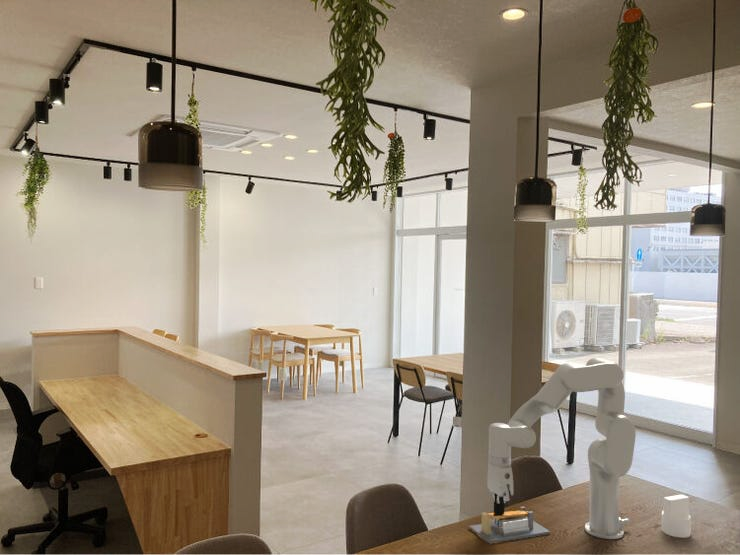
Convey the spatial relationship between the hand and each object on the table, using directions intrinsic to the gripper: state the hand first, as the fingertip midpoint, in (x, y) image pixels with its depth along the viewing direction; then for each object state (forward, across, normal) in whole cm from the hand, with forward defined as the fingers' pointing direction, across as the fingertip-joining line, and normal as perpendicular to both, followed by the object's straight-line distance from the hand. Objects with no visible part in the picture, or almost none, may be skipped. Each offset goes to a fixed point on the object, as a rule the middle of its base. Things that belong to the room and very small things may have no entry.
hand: (498, 513), depth 204 cm
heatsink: (+7, 0, -4) cm, 8 cm away
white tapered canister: (+7, -19, -59) cm, 63 cm away
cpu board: (+7, 0, -4) cm, 8 cm away
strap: (+1, 0, -4) cm, 4 cm away
